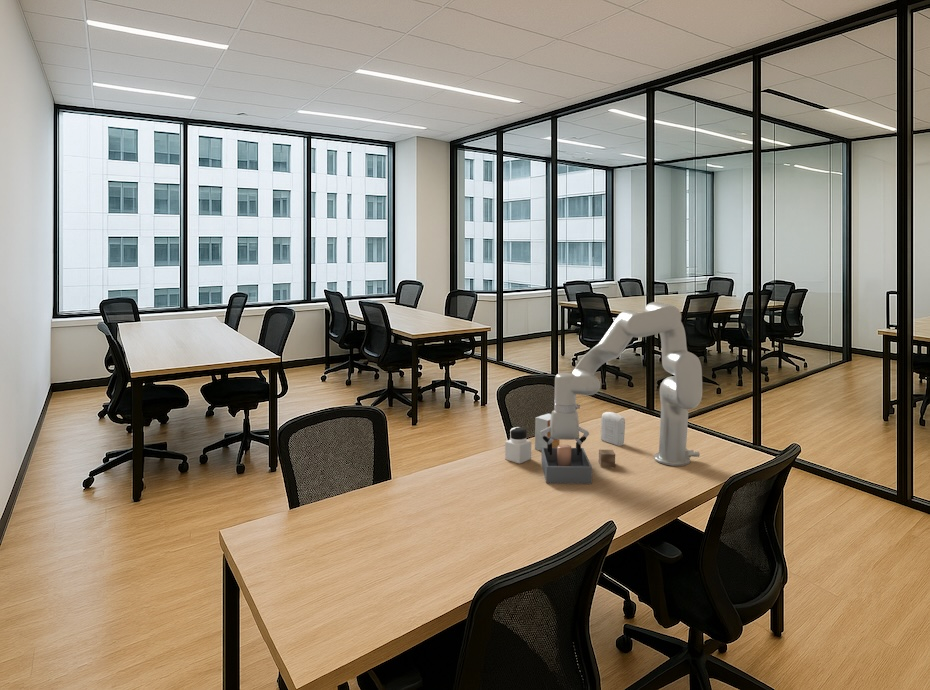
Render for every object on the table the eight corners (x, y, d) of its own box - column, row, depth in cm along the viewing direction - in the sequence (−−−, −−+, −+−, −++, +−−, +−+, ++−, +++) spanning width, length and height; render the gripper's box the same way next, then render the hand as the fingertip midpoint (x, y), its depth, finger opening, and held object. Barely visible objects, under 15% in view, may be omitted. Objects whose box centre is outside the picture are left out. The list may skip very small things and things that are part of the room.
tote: (582, 462, 223) (583, 447, 222) (591, 483, 204) (592, 467, 203) (541, 462, 223) (541, 447, 222) (546, 483, 205) (546, 466, 204)
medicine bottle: (531, 459, 227) (531, 428, 225) (519, 464, 222) (520, 432, 220) (516, 454, 232) (516, 424, 230) (504, 459, 227) (504, 428, 225)
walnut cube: (612, 462, 223) (612, 449, 222) (614, 467, 218) (615, 454, 218) (598, 462, 224) (599, 449, 223) (600, 467, 219) (601, 454, 218)
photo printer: (625, 444, 242) (627, 414, 240) (618, 446, 240) (619, 416, 238) (606, 438, 251) (607, 409, 249) (598, 440, 248) (599, 410, 246)
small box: (547, 453, 234) (547, 420, 231) (534, 449, 238) (534, 417, 236) (560, 448, 239) (560, 416, 237) (547, 444, 244) (547, 413, 241)
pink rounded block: (570, 462, 221) (570, 444, 220) (572, 467, 216) (572, 449, 215) (556, 462, 221) (556, 444, 220) (558, 467, 216) (558, 449, 215)
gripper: (587, 405, 218) (586, 450, 221) (539, 405, 219) (538, 450, 222) (591, 411, 211) (589, 457, 214) (541, 410, 211) (540, 457, 214)
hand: (563, 453), depth 218 cm, fingers open, 9 cm apart
